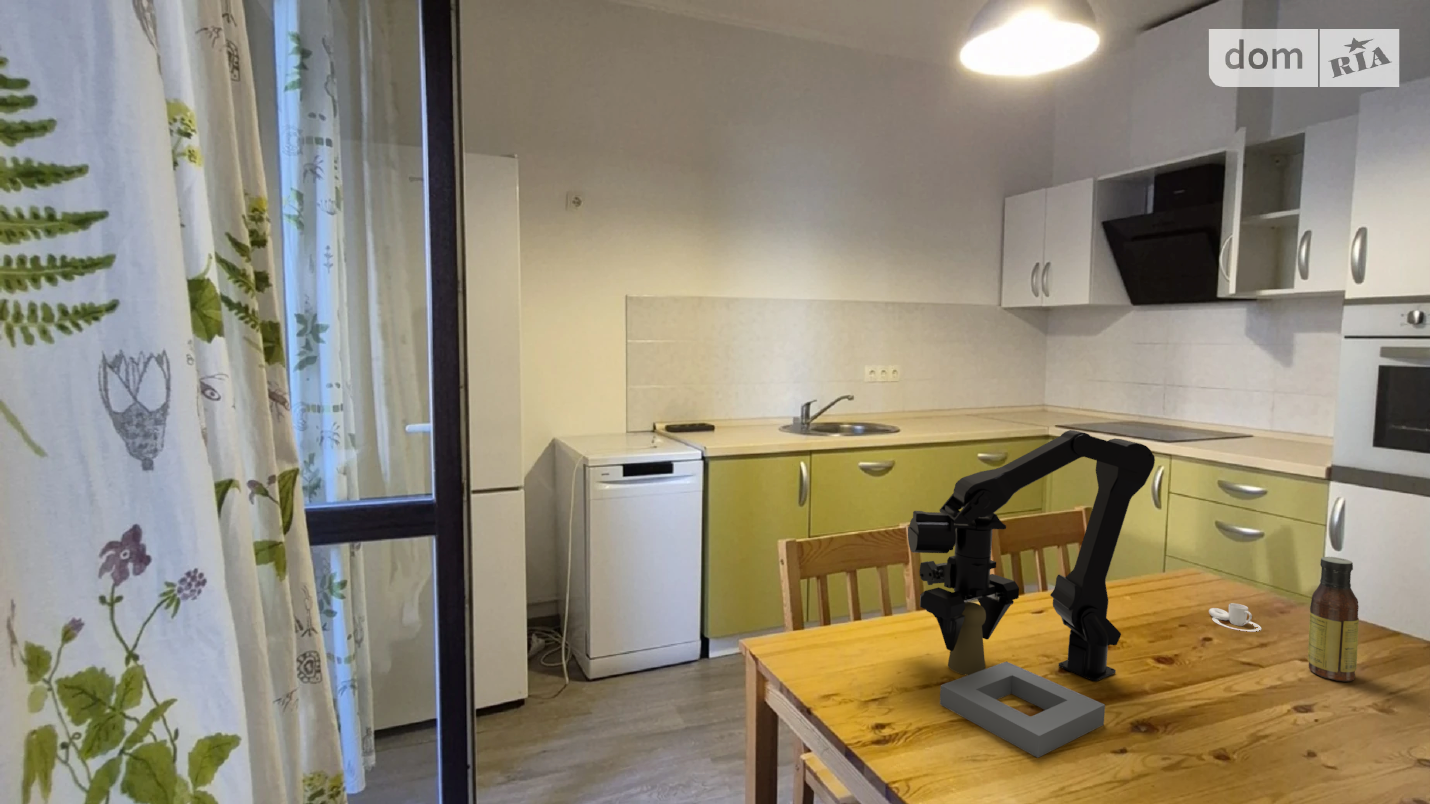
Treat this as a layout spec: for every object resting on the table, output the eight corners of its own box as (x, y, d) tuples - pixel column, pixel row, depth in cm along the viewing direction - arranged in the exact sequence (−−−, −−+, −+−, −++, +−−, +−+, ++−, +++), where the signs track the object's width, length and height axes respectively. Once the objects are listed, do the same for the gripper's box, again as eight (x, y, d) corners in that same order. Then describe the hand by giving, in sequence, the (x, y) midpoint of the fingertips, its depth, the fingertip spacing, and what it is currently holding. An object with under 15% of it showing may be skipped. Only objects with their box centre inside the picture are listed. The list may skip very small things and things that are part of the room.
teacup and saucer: (1201, 615, 146) (1203, 596, 146) (1243, 618, 145) (1245, 599, 145) (1226, 632, 138) (1227, 612, 137) (1270, 635, 137) (1272, 615, 136)
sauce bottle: (1346, 671, 121) (1358, 557, 119) (1361, 686, 115) (1373, 568, 113) (1298, 663, 123) (1309, 552, 122) (1311, 678, 118) (1322, 561, 116)
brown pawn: (988, 677, 115) (992, 612, 114) (950, 673, 116) (953, 608, 116) (982, 661, 121) (985, 599, 120) (945, 657, 122) (948, 596, 121)
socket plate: (1005, 679, 115) (1006, 661, 115) (1103, 724, 101) (1105, 704, 101) (939, 704, 106) (940, 685, 106) (1037, 757, 93) (1039, 735, 93)
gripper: (968, 534, 129) (963, 617, 130) (896, 548, 119) (892, 638, 120) (1023, 550, 120) (1018, 639, 121) (950, 567, 110) (946, 664, 111)
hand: (967, 644), depth 118 cm, fingers open, 9 cm apart
